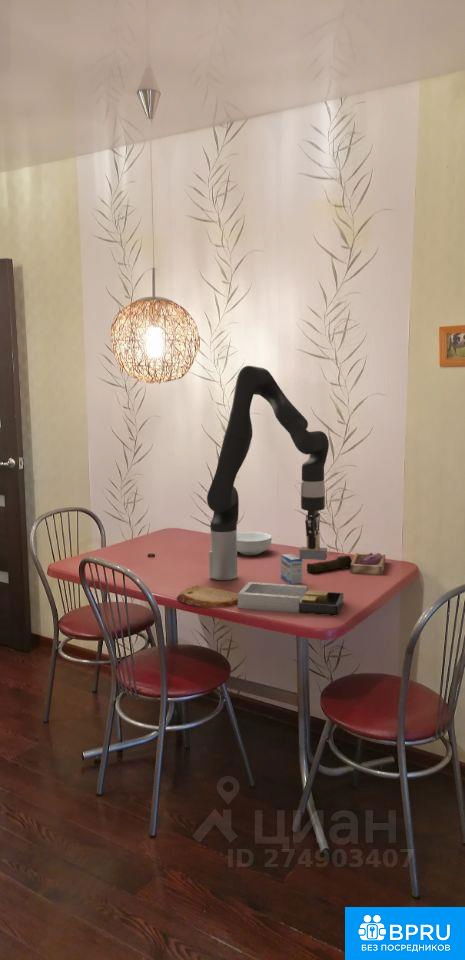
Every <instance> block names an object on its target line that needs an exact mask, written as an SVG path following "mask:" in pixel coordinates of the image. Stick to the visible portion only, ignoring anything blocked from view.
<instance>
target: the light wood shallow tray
mask: <svg viewBox="0 0 465 960" xmlns="http://www.w3.org/2000/svg"><path fill="white" fill-rule="evenodd" d="M369 554H370V553H355V555H354V556H353V558H352V559H351V560H352V562H351V565H350V567H349V568H350V569H349V570H350V574H363V575H365V574H366V575H379V576H380V575H383V571H384V569H385V565H386V554H381V555H382V556H378V557H383V558H381V561H380V562H379V563H378V565H379V566H376V565H362V564H360V565H359V561H358V560H361V559H365V558H366V557H367V556H368V555H369ZM374 554H375V553H372V555H374ZM374 558H377V557H372V558H371V559H374ZM356 563H358V564H356Z"/></svg>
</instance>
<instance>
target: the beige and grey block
mask: <svg viewBox="0 0 465 960" xmlns="http://www.w3.org/2000/svg"><path fill="white" fill-rule="evenodd" d="M310 533H312V532H310ZM320 537H321V533H320V532H319V533H317V532H316V537H315V549H309V548H308V537H307V536H306V546H301V547H300V549H299V550H298V551H299V558H300V559H302V560H311V561H312V560H314V561H316V560H317V561H326V559H327V558H328V548H327V547H321V541H320V540H321V538H320Z"/></svg>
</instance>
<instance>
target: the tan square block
mask: <svg viewBox="0 0 465 960" xmlns="http://www.w3.org/2000/svg"><path fill="white" fill-rule="evenodd" d="M317 591H318V593H317V594H316V604H327V605H328V592H329V591H328V590H327V591H325V590H317Z"/></svg>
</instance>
